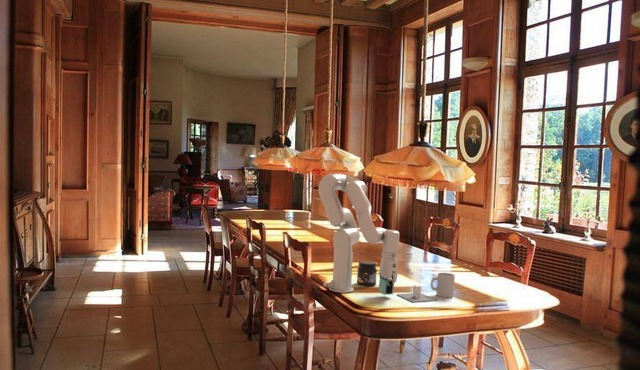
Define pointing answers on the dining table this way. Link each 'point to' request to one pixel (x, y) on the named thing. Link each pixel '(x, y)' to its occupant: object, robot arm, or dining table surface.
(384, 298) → the dining table surface
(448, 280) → the mug
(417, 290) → the grey plate with knob
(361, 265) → the supplement container
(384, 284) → the teal rectangular block
